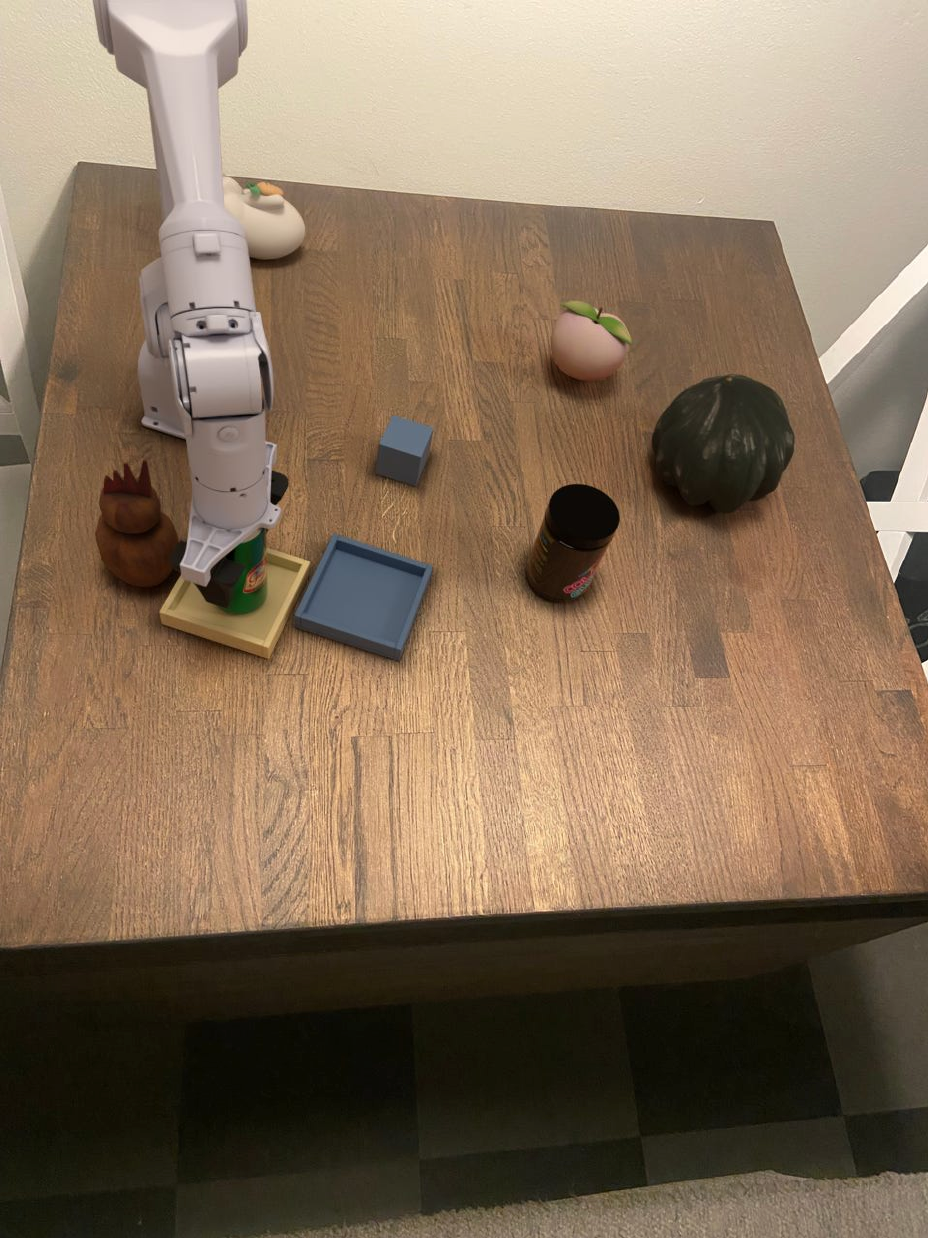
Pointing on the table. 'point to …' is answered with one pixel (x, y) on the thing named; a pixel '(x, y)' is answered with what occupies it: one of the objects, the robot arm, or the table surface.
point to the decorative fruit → (588, 342)
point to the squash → (724, 442)
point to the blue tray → (364, 597)
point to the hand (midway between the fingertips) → (235, 568)
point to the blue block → (404, 450)
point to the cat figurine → (264, 218)
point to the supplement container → (571, 541)
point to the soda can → (249, 574)
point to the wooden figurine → (134, 529)
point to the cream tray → (248, 629)
